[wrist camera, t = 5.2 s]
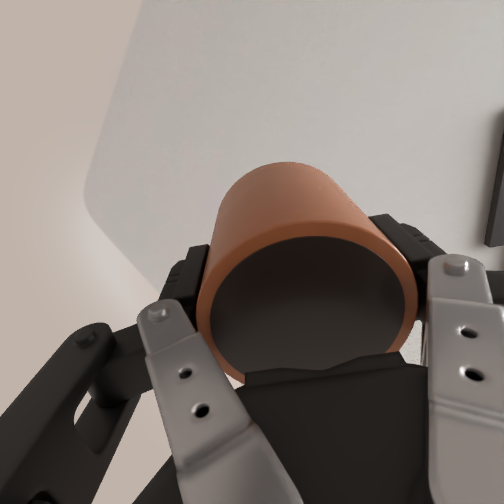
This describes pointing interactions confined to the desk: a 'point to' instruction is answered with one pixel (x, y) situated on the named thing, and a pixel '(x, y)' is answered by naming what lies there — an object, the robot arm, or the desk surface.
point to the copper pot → (300, 277)
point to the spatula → (497, 208)
